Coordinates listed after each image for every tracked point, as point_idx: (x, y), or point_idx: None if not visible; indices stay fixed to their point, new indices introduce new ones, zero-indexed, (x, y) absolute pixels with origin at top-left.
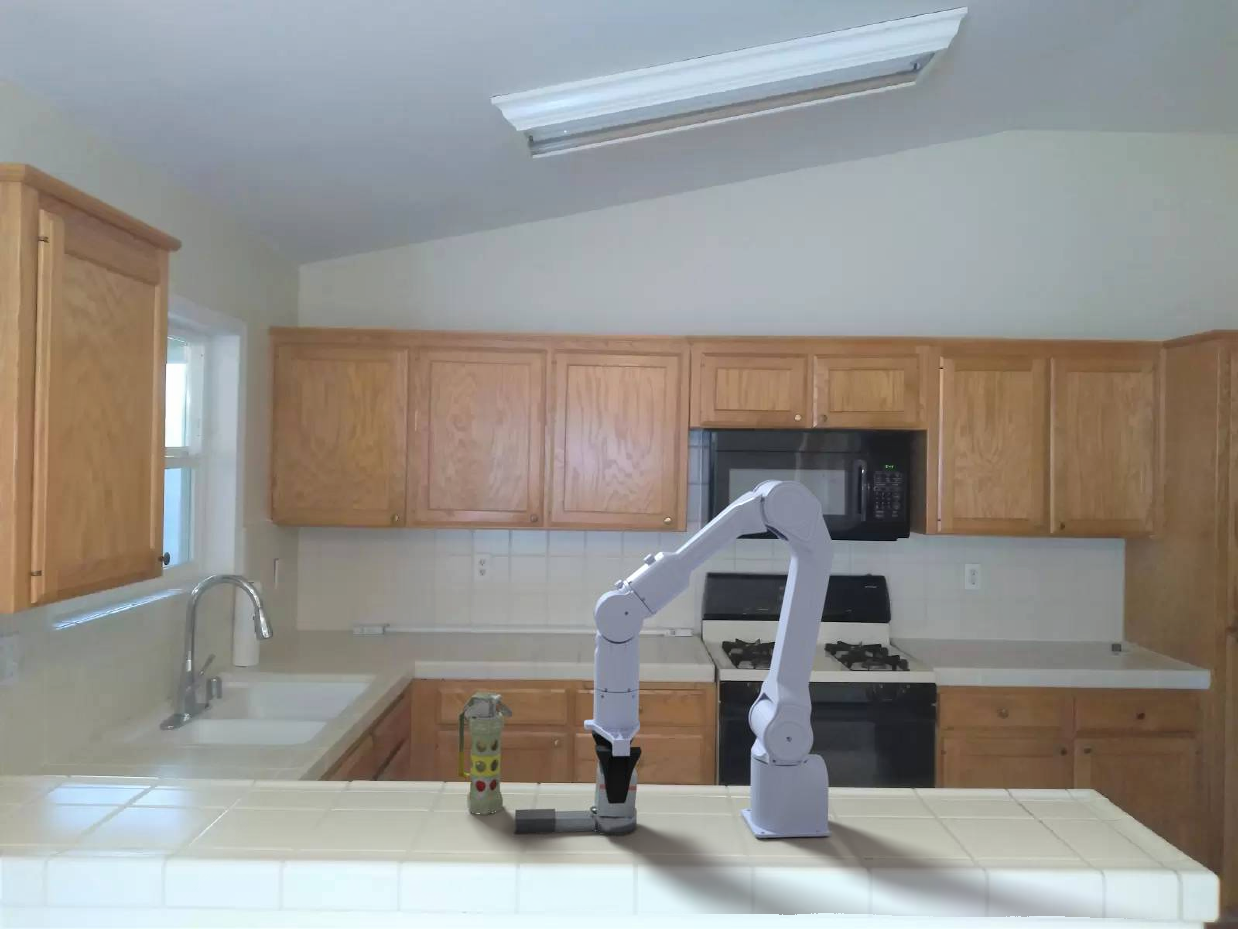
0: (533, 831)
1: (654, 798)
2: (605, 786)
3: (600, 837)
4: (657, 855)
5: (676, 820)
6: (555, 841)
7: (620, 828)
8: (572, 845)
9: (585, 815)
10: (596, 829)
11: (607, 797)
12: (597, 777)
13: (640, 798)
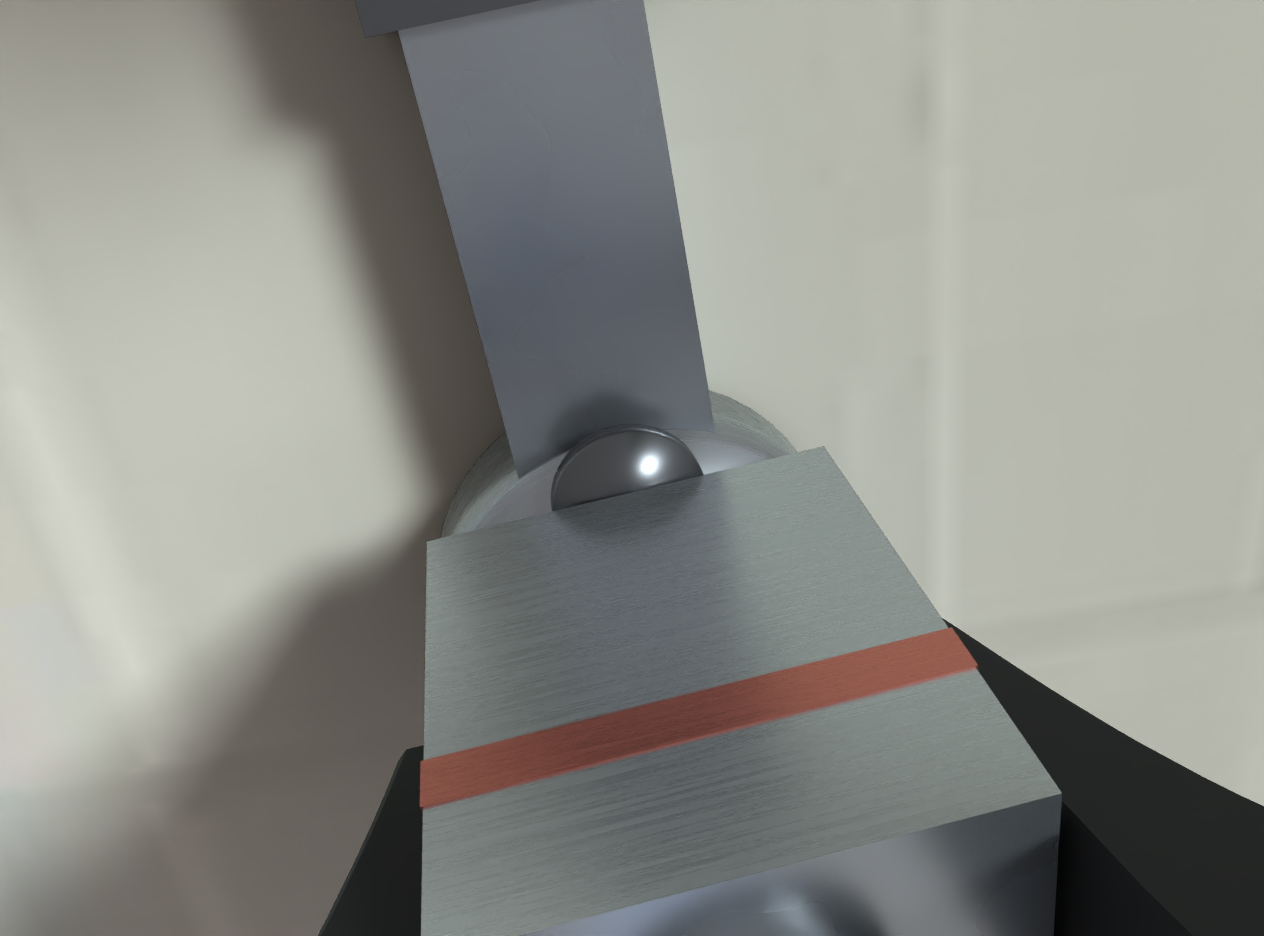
0: None
1: (1194, 745)
2: (390, 874)
3: (389, 491)
4: (175, 914)
5: None
6: (172, 69)
7: None
8: (133, 271)
9: (569, 371)
10: (496, 450)
11: (393, 789)
12: (813, 678)
13: (1207, 657)
